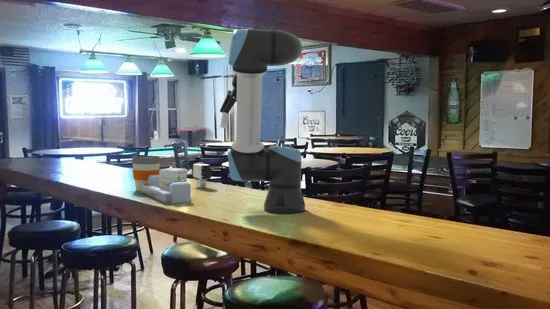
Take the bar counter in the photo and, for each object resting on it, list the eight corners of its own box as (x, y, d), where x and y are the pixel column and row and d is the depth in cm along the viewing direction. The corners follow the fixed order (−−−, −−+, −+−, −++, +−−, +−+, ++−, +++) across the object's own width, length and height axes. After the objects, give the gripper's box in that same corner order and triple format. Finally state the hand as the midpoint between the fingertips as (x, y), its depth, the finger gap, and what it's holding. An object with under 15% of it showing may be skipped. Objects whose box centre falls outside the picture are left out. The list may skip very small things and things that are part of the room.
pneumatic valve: (203, 189, 234) (203, 163, 233) (191, 186, 243) (191, 161, 242) (213, 188, 237) (214, 162, 236) (201, 185, 246) (201, 160, 245)
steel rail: (171, 203, 196) (171, 193, 195) (164, 204, 194) (164, 193, 194) (147, 192, 221) (147, 183, 221) (141, 193, 220) (141, 183, 219)
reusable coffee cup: (150, 192, 221) (150, 158, 220) (126, 190, 225) (125, 157, 224) (165, 189, 233) (165, 156, 232) (142, 187, 237) (142, 155, 236)
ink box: (176, 199, 206) (176, 170, 205) (158, 197, 209) (158, 169, 208) (187, 196, 214) (187, 168, 213) (170, 194, 217) (170, 167, 216)
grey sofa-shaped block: (190, 201, 200) (190, 182, 199) (172, 203, 196) (172, 183, 195) (164, 191, 225) (164, 174, 225) (148, 192, 221) (148, 175, 221)
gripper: (268, 74, 205) (259, 123, 199) (231, 87, 223) (222, 132, 217) (254, 67, 200) (244, 117, 194) (217, 80, 219) (208, 126, 213)
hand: (233, 125), depth 206 cm, fingers open, 13 cm apart
